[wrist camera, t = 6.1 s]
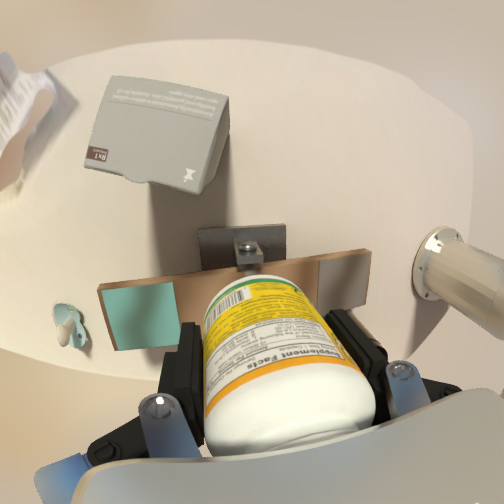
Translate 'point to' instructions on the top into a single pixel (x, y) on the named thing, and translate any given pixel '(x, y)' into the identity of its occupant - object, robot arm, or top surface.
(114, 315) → the beam
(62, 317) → the pacifier
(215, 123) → the skincare box
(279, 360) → the supplement bottle
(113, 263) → the top surface
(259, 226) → the beam stand
